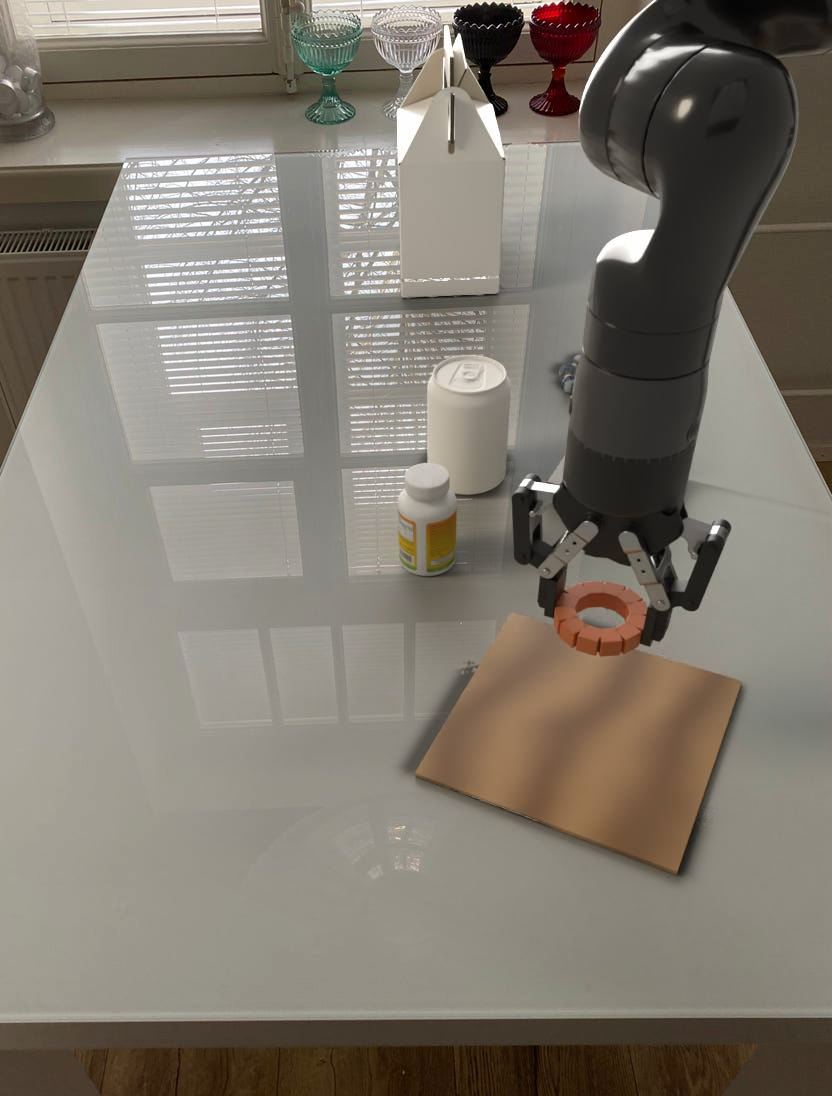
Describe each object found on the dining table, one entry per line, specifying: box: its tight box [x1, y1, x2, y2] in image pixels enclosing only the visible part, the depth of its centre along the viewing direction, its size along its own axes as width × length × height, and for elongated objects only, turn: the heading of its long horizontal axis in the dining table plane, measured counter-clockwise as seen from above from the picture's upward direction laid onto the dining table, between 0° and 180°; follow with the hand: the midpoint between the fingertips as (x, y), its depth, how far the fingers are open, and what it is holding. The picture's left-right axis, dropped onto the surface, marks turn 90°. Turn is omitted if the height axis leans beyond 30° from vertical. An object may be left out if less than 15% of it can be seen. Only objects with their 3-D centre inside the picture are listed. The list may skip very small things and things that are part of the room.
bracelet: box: [558, 354, 581, 394], centre depth 115 cm, size 10×10×2 cm
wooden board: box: [414, 611, 743, 876], centre depth 78 cm, size 20×20×1 cm
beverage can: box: [426, 354, 512, 496], centre depth 100 cm, size 8×8×12 cm
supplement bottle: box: [397, 462, 458, 577], centre depth 91 cm, size 5×5×10 cm
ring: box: [553, 580, 648, 657], centre depth 70 cm, size 6×6×1 cm
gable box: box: [396, 25, 507, 297], centre depth 132 cm, size 22×13×28 cm, turn 179°
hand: (599, 623), depth 70 cm, fingers closed on ring, 6 cm apart
